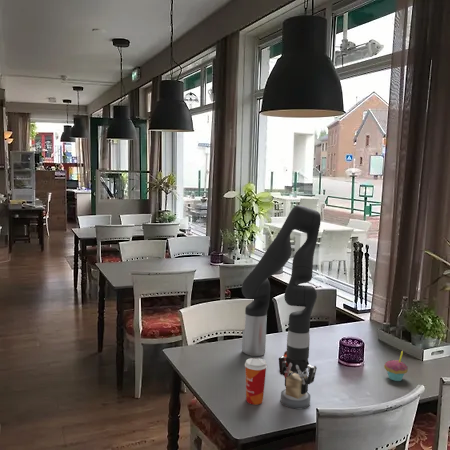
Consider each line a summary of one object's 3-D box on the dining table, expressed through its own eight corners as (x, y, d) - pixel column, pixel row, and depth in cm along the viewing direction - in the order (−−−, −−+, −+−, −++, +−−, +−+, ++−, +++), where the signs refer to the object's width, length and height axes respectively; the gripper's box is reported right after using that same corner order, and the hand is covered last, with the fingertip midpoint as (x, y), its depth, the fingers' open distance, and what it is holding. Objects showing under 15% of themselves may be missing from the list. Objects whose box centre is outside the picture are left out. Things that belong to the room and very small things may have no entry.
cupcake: (406, 376, 192) (409, 346, 191) (407, 385, 184) (409, 354, 183) (383, 372, 195) (385, 343, 194) (383, 381, 187) (385, 350, 186)
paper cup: (241, 395, 172) (243, 357, 170) (263, 395, 172) (265, 357, 171) (244, 406, 164) (246, 366, 162) (267, 406, 165) (269, 366, 163)
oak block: (285, 394, 168) (286, 377, 167) (293, 389, 172) (294, 373, 171) (298, 399, 165) (298, 381, 164) (305, 394, 168) (306, 377, 168)
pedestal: (274, 401, 168) (275, 394, 168) (290, 392, 176) (291, 384, 175) (300, 411, 162) (300, 404, 161) (315, 401, 169) (315, 393, 169)
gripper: (322, 345, 164) (319, 393, 166) (286, 335, 173) (284, 380, 175) (311, 351, 159) (308, 401, 161) (274, 340, 168) (272, 387, 170)
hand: (295, 390), depth 168 cm, fingers open, 5 cm apart
